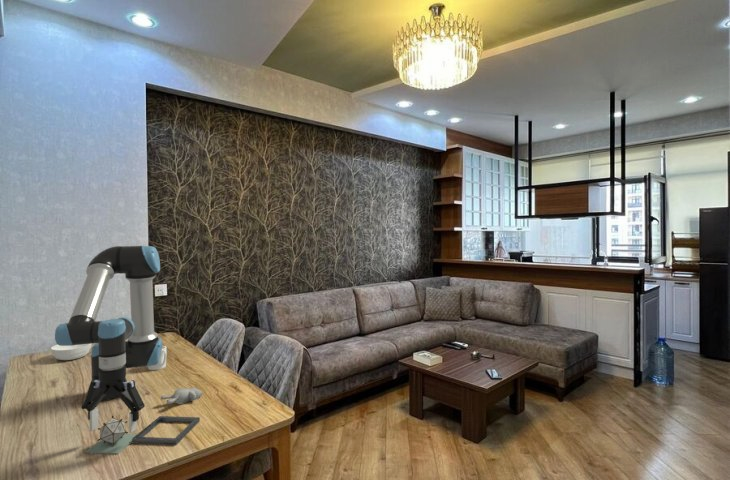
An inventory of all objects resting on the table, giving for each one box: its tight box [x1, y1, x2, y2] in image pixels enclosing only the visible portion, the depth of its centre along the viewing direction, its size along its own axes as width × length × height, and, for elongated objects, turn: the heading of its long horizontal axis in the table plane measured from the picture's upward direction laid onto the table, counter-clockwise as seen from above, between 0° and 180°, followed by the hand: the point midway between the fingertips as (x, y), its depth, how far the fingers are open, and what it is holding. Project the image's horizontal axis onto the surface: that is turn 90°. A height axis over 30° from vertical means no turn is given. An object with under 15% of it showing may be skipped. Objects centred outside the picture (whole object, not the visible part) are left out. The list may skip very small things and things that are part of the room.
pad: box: [84, 433, 138, 455], centre depth 126 cm, size 11×11×1 cm
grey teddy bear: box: [160, 387, 203, 405], centre depth 157 cm, size 10×5×15 cm
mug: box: [147, 345, 168, 372], centre depth 195 cm, size 11×9×10 cm
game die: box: [97, 415, 129, 447], centre depth 126 cm, size 9×8×10 cm
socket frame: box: [131, 415, 201, 446], centre depth 134 cm, size 15×15×2 cm
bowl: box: [50, 343, 93, 361], centre depth 211 cm, size 18×18×7 cm
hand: (113, 429), depth 126 cm, fingers open, 13 cm apart
